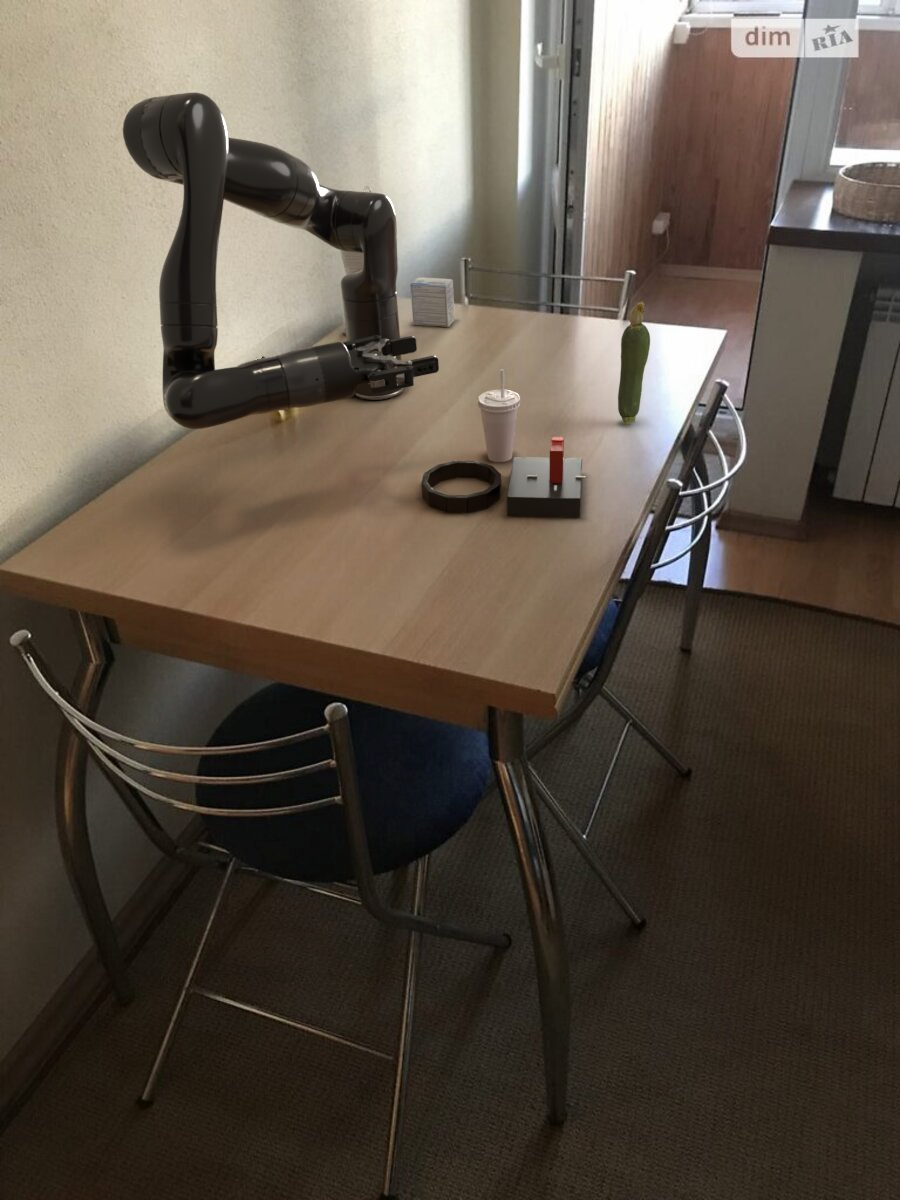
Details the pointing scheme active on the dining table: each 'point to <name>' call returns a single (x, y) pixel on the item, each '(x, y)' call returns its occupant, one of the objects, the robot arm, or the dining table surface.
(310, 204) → the robot arm
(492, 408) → the smoothie
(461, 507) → the ring
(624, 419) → the vegetable
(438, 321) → the grey striped block
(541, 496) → the panel
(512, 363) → the dining table surface
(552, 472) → the knob
